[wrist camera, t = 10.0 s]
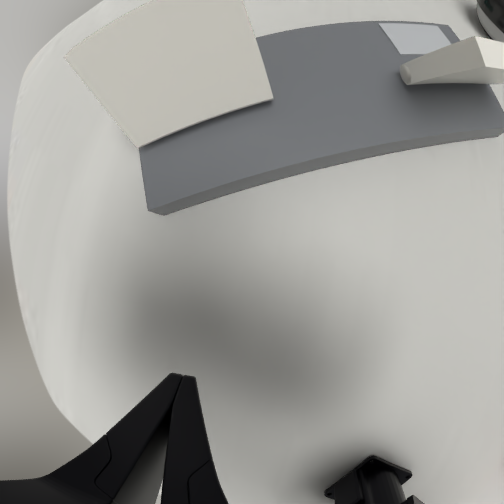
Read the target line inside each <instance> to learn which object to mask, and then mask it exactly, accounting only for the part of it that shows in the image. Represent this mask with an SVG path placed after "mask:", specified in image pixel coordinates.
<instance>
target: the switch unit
mask: <svg viewBox="0 0 504 504" xmlns="http://www.w3.org/2000/svg"><path fill="white" fill-rule="evenodd" d="M256 41H257V44H258V47H259V50H260V54H261V57H262V60H263V63H264V67H265V70H266V73H267V77H268V80H269V84H270V87H271V91H272V94H273V98H274V99H273V100H270V101H266V102H262V103H259V104H255V105H252V106H249V107H245V108H242V109H239V110H236V111H232V112H229V113H226V114H223V115H220V116H217V117H215V118H212V119H209V120H206V121H203V122H201V123H198V124H195V125H193V126H190V127H187V128H185V129H182V130H180V131H177V132H175V133H173V134H170V135H168V136H165V137H163V138H161V139H158V140H156V141H154V142H152V143H149V144H147V145H145V146H143V147H141V148H139V152H140V160H141V168H142V175H143V182H144V189H145V195H146V202H147V208H148V211H150V212H154V213H157V214H161V215H167V214H170V213H172V212H175V211H178V210H181V209H184V208H187V207H190V206H193V205H196V204H199V203H202V202H205V201H208V200H212V199H215V198H218V197H221V196H224V195H228V194H231V193H234V192H237V191H241V190H244V189H247V188H251V187H254V186H258V185H261V184H265V183H268V182H272V181H275V180H279V179H283V178H286V177H290V176H294V175H298V174H301V173H305V172H309V171H313V170H317V169H321V168H325V167H329V166H334V165H338V164H342V163H347V162H351V161H355V160H360V159H364V158H369V157H374V156H379V155H384V154H389V153H394V152H399V151H404V150H410V149H415V148H421V147H427V146H433V145H439V144H445V143H452V142H459V141H466V140H474V139H482V138H491V137H498V136H499V135H501V134H502V133H504V112H503V110H502V108H501V106H500V104H499V102H498V100H497V98H496V96H495V94H494V92H493V91H492V89H491V87H490V85H489V84H473V83H434V84H414V85H407V84H406V83H404V81H403V80H402V77H401V74H400V67H401V65H402V64H404V63H406V62H409V61H411V60H413V59H416V58H418V57H420V56H423V55H425V54H428V53H430V52H433V51H435V50H438V49H440V48H443V47H445V46H448V45H451V44H453V43H456V42H459V41H460V40H459V38H458V37H457V36H456V34H455V33H454V32H453V31H452V29H451V28H450V27H449V26H448V25H442V24H434V23H423V22H407V21H365V22H348V23H337V24H328V25H320V26H312V27H306V28H300V29H294V30H289V31H284V32H279V33H274V34H270V35H266V36H262V37H258V38H256Z"/></svg>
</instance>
